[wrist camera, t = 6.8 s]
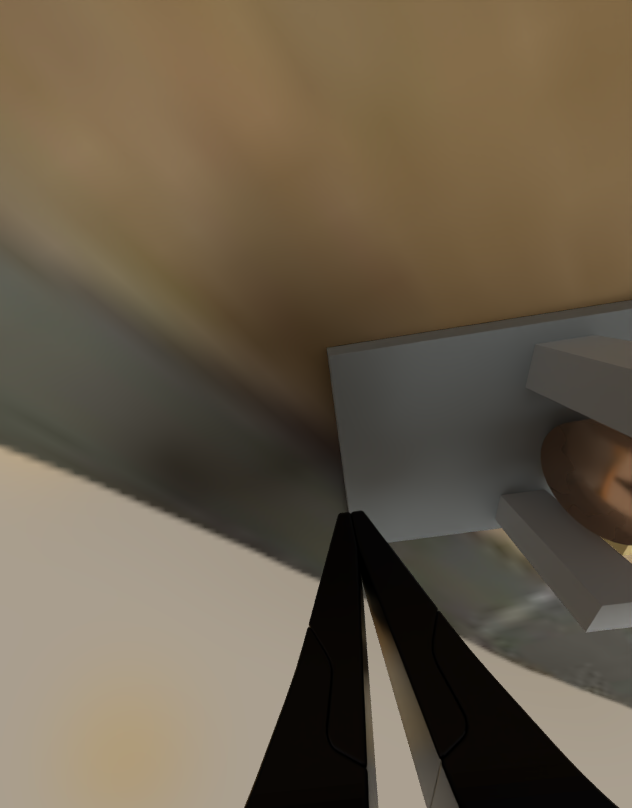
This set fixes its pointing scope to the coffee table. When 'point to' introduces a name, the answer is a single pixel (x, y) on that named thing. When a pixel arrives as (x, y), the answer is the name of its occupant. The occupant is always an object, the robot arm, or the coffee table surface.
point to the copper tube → (591, 476)
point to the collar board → (489, 439)
